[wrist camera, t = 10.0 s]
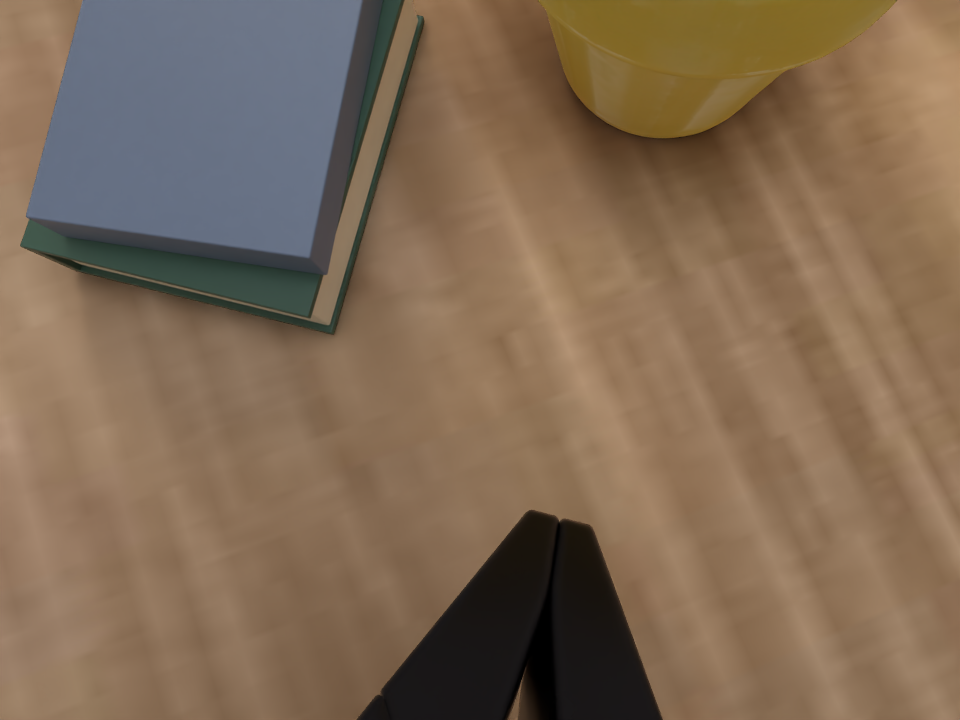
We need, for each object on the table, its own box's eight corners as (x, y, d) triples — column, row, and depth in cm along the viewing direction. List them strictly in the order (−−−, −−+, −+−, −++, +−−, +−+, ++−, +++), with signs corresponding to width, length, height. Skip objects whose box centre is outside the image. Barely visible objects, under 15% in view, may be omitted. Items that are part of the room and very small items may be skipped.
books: (340, 336, 23) (295, 304, 19) (74, 270, 24) (-26, 226, 20) (432, 16, 25) (410, -81, 20) (178, -33, 26) (105, -136, 21)
